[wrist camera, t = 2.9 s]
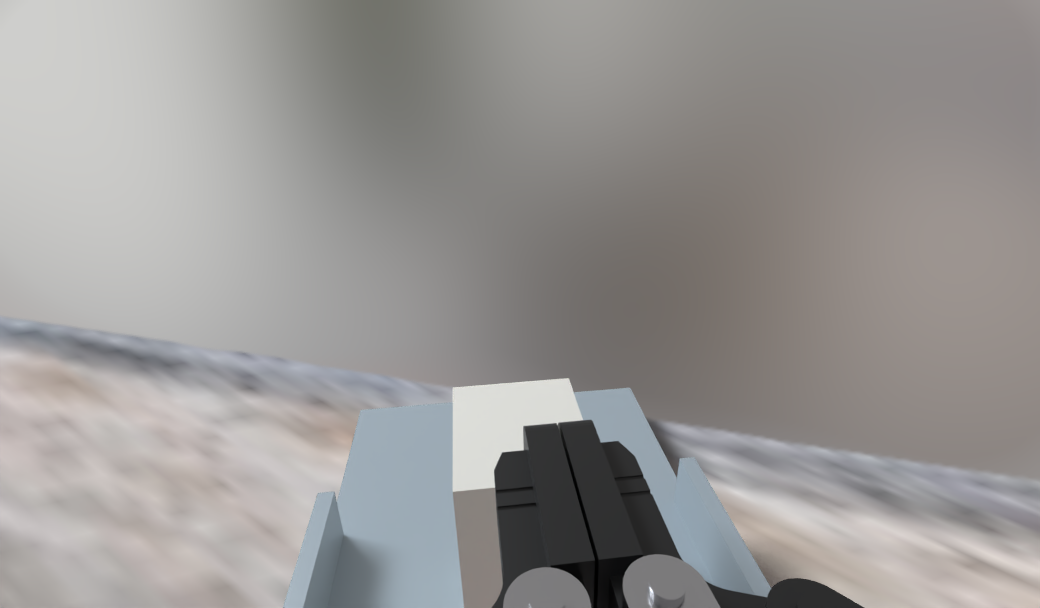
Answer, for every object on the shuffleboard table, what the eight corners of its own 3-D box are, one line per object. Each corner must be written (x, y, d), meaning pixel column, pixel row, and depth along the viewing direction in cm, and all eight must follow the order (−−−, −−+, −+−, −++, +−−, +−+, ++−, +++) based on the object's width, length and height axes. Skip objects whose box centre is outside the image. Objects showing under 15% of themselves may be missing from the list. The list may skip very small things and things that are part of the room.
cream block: (592, 661, 22) (602, 476, 18) (471, 677, 22) (452, 491, 18) (565, 542, 28) (568, 378, 23) (467, 552, 27) (452, 387, 23)
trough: (965, 1108, 14) (1041, 1048, 12) (167, 1283, 12) (86, 1251, 10) (628, 409, 41) (632, 352, 39) (364, 432, 39) (354, 374, 37)
